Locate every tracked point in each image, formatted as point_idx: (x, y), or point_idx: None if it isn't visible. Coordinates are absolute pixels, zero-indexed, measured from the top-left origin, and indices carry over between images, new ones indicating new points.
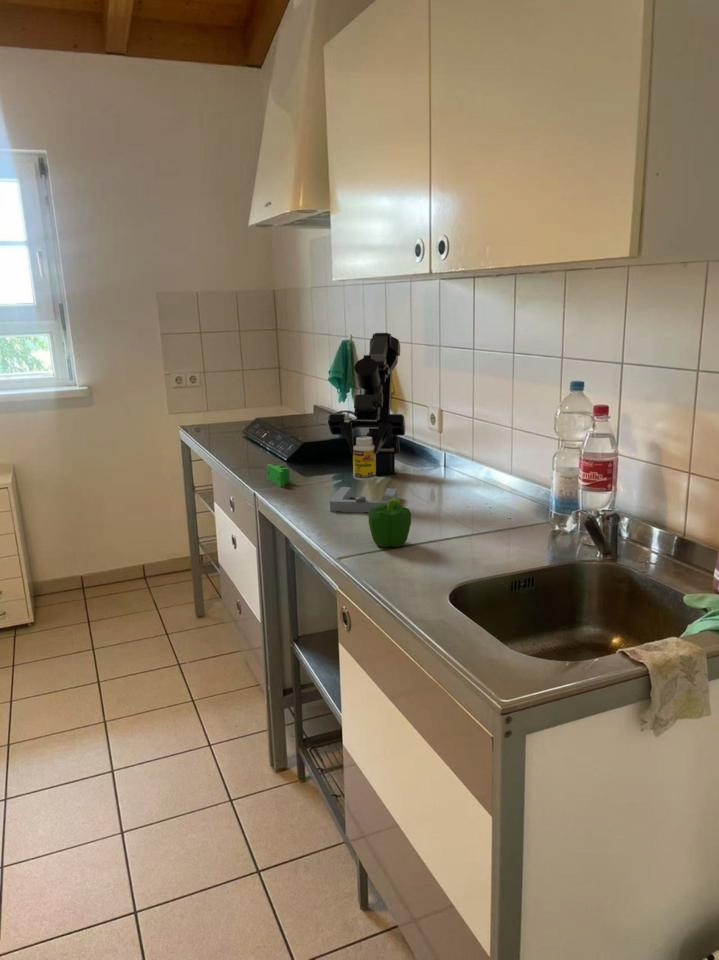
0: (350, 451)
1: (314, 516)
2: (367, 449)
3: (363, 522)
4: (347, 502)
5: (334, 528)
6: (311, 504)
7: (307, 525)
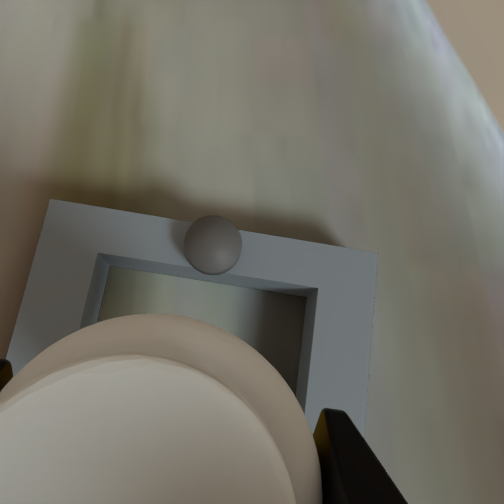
0: (342, 410)
1: (420, 193)
2: (104, 321)
3: (202, 94)
4: (283, 238)
5: (316, 32)
6: (473, 406)
7: (426, 76)
